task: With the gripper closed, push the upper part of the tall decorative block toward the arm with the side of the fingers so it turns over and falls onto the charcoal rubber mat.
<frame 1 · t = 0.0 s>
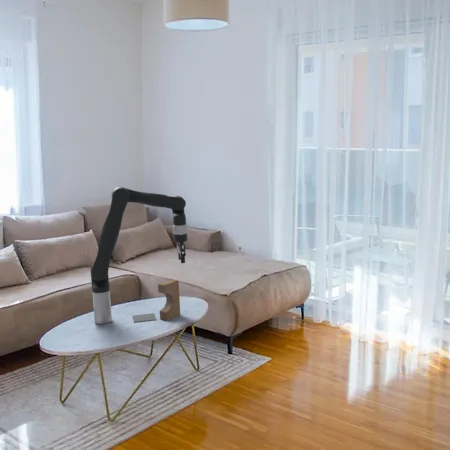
hand: (181, 261, 329), 29 cm above the table, fingers open, 8 cm apart
mat: (144, 318, 327), on the table
decorative block: (170, 317, 326), on the table
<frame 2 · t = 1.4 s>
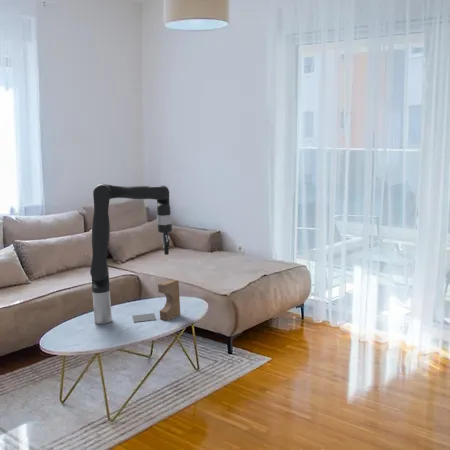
hand: (166, 254, 322), 35 cm above the table, fingers closed
nothing on the table moved.
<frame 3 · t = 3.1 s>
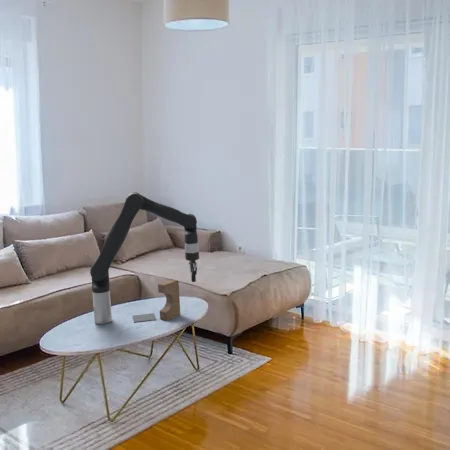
hand: (193, 281, 326), 19 cm above the table, fingers closed
nothing on the table moved.
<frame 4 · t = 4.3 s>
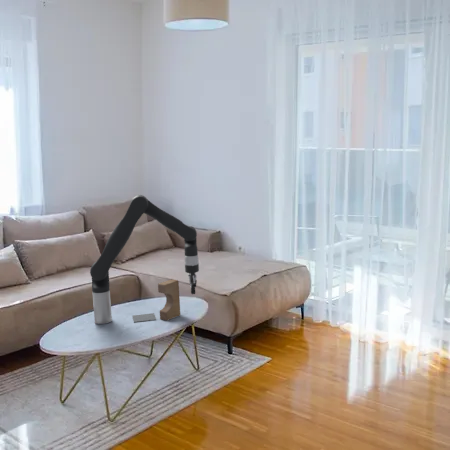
hand: (193, 293, 327), 12 cm above the table, fingers closed
nothing on the table moved.
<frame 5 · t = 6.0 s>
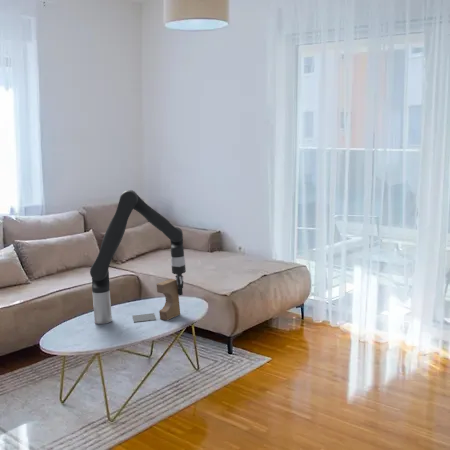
hand: (180, 294, 326), 12 cm above the table, fingers closed
nothing on the table moved.
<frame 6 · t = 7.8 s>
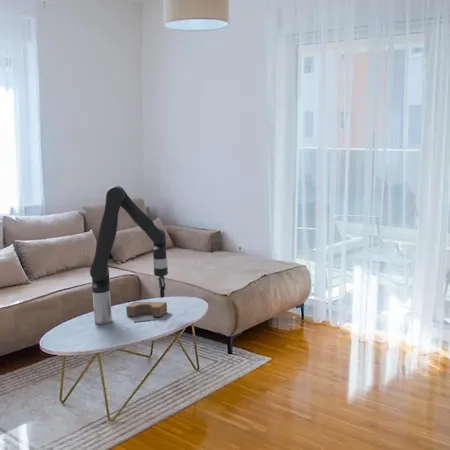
hand: (162, 297, 324), 12 cm above the table, fingers closed
decorative block: (163, 309, 330), point 3 cm above the table, touching mat
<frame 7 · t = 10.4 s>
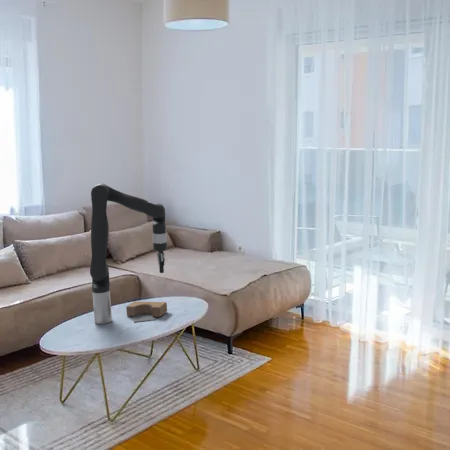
hand: (161, 272, 321), 26 cm above the table, fingers closed
nothing on the table moved.
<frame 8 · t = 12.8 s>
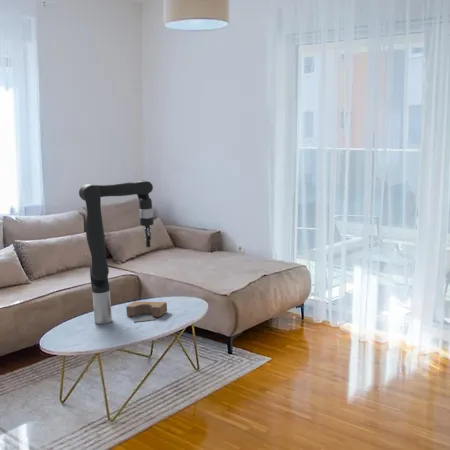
hand: (148, 246, 334), 37 cm above the table, fingers closed
nothing on the table moved.
at the end: decorative block tilted 91°; decorative block inside the target area (8.9 cm from its centre), point 3.3 cm above the table; decorative block 11.3 cm from the mat (horizontally) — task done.
